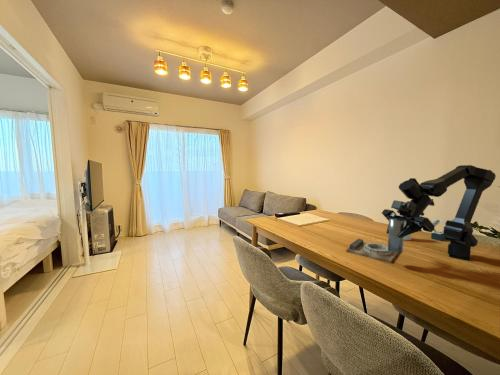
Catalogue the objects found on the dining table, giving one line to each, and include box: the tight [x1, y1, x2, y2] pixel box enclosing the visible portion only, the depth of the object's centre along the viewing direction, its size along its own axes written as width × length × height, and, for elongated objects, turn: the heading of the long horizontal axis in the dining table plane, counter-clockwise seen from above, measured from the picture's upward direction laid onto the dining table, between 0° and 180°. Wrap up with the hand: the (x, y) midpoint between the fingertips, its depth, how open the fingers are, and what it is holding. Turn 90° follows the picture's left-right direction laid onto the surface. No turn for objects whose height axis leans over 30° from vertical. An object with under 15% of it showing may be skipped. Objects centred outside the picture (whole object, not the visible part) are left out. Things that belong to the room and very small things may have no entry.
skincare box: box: [403, 221, 413, 241], centre depth 114 cm, size 6×4×12 cm
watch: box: [430, 218, 447, 242], centre depth 112 cm, size 6×8×11 cm
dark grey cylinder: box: [387, 218, 404, 254], centre depth 83 cm, size 5×5×13 cm
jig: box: [345, 238, 399, 264], centre depth 98 cm, size 18×16×3 cm
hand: (392, 235), depth 83 cm, fingers closed on dark grey cylinder, 5 cm apart
